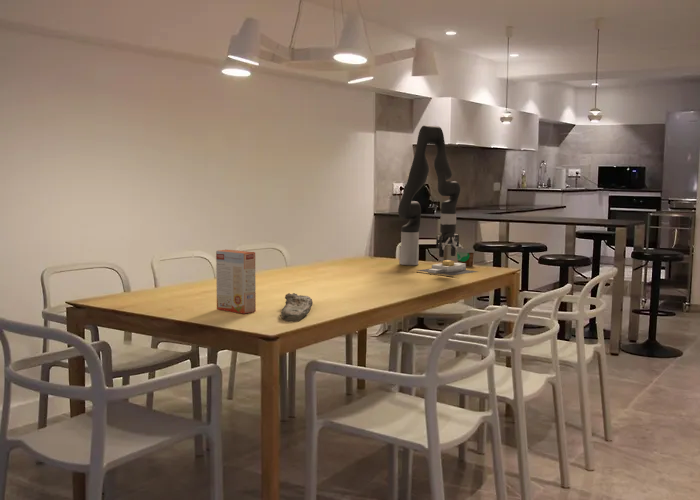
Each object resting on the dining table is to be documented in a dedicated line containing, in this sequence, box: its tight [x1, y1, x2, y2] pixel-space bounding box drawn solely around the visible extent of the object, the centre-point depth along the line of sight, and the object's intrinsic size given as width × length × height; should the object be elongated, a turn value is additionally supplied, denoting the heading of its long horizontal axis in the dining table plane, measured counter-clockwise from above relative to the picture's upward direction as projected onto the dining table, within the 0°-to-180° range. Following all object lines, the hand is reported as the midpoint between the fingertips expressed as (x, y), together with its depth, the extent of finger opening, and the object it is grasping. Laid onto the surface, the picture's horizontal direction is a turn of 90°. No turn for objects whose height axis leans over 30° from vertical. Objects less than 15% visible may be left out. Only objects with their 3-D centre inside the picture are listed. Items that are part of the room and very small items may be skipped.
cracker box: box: [215, 249, 257, 315], centre depth 250 cm, size 14×6×21 cm, turn 51°
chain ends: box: [427, 262, 467, 275], centre depth 350 cm, size 9×22×3 cm, turn 133°
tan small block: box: [441, 259, 455, 266], centre depth 349 cm, size 4×4×5 cm
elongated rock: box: [280, 292, 313, 322], centre depth 251 cm, size 35×5×10 cm
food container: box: [456, 246, 475, 267], centre depth 373 cm, size 12×6×10 cm, turn 25°
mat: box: [415, 267, 479, 278], centre depth 350 cm, size 22×20×1 cm
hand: (447, 256), depth 349 cm, fingers open, 8 cm apart
